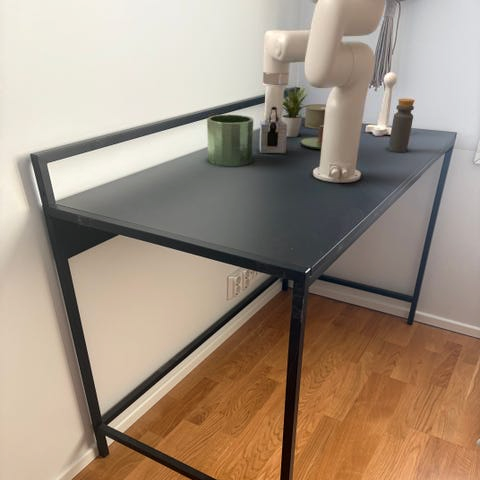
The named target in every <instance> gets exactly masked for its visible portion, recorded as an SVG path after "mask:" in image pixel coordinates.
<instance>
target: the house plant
mask: <svg viewBox="0 0 480 480" xmlns="http://www.w3.org/2000/svg"><path fill="white" fill-rule="evenodd" d="M284 90H286V92H287V93H286V94H287V96H285V94H284V97H283V108H282V110H284V111H285V112H286V114H283V115H281V121H285V122H286V124H287V134H286V137H288V138H289V137H290V138H295V137H298V136H299V133H300V129H301V124H302V120H303V116H302V115H300V114H298V113H299V112H300V111H301V110H303V109H304V108H306V105H304V103H302V102H303V101H304V100H305V98H306V97H307V96H308V95H309V93H306V92H307V87H301V88H299V90H298V91H297V85H295V87H294V90H293V92H292V91H290V89H288V88H287V86H284ZM305 93H306V94H305Z"/></svg>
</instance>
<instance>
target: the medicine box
mask: <svg viewBox="0 0 480 480" xmlns="http://www.w3.org/2000/svg"><path fill="white" fill-rule="evenodd" d="M259 124H260V125H259V153H260V154H286V151H287V149H286V148H287V136H286V134H287V124H286V122H285V121H282V120H280V122H279V123H278V146H277V147H273V146H267V135H268V129H269V120H268V121H266V122H264V120H261V121H260V123H259Z"/></svg>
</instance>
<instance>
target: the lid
mask: <svg viewBox="0 0 480 480" xmlns="http://www.w3.org/2000/svg"><path fill="white" fill-rule="evenodd" d="M323 129H324V125H320V126H319V129H318V136H316V137H305V138H303V139H301V141H300V144H301V146H303V147H306V148H310V149H314V150H321V148H322V138H323Z"/></svg>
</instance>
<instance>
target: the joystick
mask: <svg viewBox="0 0 480 480" xmlns="http://www.w3.org/2000/svg"><path fill="white" fill-rule="evenodd" d="M397 81H398V75H397V74H396V73H395V72H393V71H389V72H387V73H386V74H385V75H384V77H383V84H384V87H385V89H384V94H383V99H382V103H381V107H380V113H379V116H378V117H379V118H378V121H377V124H368V125H366V126H365V132H367V133H372V135H373V136H374V137H383V136H384V135H391V129H392V126H389V121H390V113H391V103H392V96H393V88H394V86H395V85H396V84H397Z"/></svg>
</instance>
